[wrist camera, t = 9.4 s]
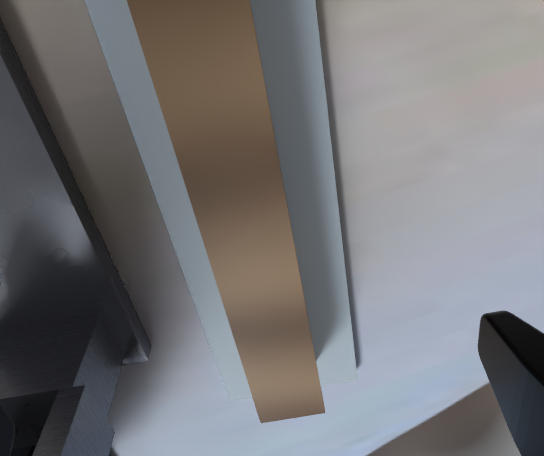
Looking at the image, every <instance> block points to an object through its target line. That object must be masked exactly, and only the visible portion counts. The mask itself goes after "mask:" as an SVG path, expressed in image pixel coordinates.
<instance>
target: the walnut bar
mask: <svg viewBox="0 0 544 456" xmlns="http://www.w3.org/2000/svg"><path fill="white" fill-rule="evenodd" d="M127 3H128V6H129V9H130V13H131V16H132V19H133V22H134V25H135V28H136V31H137V35H138V38H139V41H140V44H141V47H142V50H143V54H144V57H145V60H146V63H147V66H148V69H149V72H150V76H151V79H152V82H153V85H154V88H155V91H156V95H157V98H158V101H159V104H160V107H161V110H162V113H163V117H164V120H165V123H166V126H167V129H168V132H169V136H170V139H171V142H172V145H173V148H174V151H175V154H176V158H177V161H178V164H179V167H180V170H181V173H182V176H183V180H184V183H185V186H186V189H187V192H188V195H189V199H190V202H191V205H192V208H193V211H194V214H195V217H196V221H197V224H198V227H199V230H200V233H201V236H202V240H203V243H204V246H205V249H206V252H207V255H208V258H209V262H210V265H211V268H212V271H213V274H214V277H215V281H216V284H217V287H218V290H219V293H220V296H221V299H222V303H223V306H224V309H225V312H226V315H227V318H228V321H229V325H230V328H231V331H232V334H233V337H234V340H235V344H236V347H237V350H238V353H239V356H240V359H241V362H242V366H243V369H244V372H245V375H246V378H247V381H248V385H249V388H250V391H251V394H252V397H253V400H254V403H255V407H256V410H257V413H258V416H259V419H260V422H261V423H265V422H271V421H278V420H284V419H290V418H296V417H302V416H309V415H315V414H321V413H325V408H324V403H323V397H322V392H321V386H320V380H319V375H318V369H317V363H316V358H315V352H314V347H313V341H312V336H311V331H310V325H309V320H308V314H307V309H306V303H305V298H304V292H303V287H302V282H301V276H300V271H299V265H298V260H297V254H296V249H295V243H294V238H293V232H292V227H291V222H290V216H289V211H288V205H287V200H286V194H285V189H284V183H283V178H282V173H281V167H280V162H279V156H278V151H277V145H276V140H275V134H274V129H273V123H272V118H271V113H270V107H269V102H268V96H267V91H266V85H265V80H264V74H263V69H262V64H261V58H260V53H259V47H258V42H257V36H256V31H255V25H254V20H253V14H252V9H251V4H250V0H127Z"/></svg>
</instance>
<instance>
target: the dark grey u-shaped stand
mask: <svg viewBox="0 0 544 456" xmlns="http://www.w3.org/2000/svg"><path fill="white" fill-rule="evenodd" d="M150 349H151V344H150V341H149V339H148V337H147V335H146V333H145V331H144V328H143V326H142V324H141V322H140V320H139V318H138V316H137V313H136V311H135V309H134V307H133V305H132V303H131V300H130V298H129V296H128V294H127V292H126V290H125V287H124V285H123V283H122V281H121V279H120V277H119V274H118V272H117V270H116V268H115V266H114V264H113V261H112V259H111V257H110V255H109V253H108V251H107V249H106V246H105V244H104V242H103V240H102V238H101V236H100V233H99V231H98V229H97V227H96V225H95V223H94V220H93V218H92V216H91V214H90V212H89V210H88V207H87V205H86V203H85V201H84V199H83V197H82V194H81V192H80V190H79V188H78V186H77V184H76V181H75V179H74V177H73V175H72V173H71V171H70V169H69V166H68V164H67V162H66V160H65V158H64V156H63V153H62V151H61V149H60V147H59V145H58V143H57V140H56V138H55V136H54V134H53V132H52V130H51V127H50V125H49V123H48V121H47V119H46V117H45V114H44V112H43V110H42V108H41V106H40V104H39V102H38V99H37V97H36V95H35V93H34V91H33V89H32V86H31V84H30V82H29V80H28V78H27V76H26V73H25V71H24V69H23V67H22V65H21V63H20V60H19V58H18V56H17V54H16V52H15V50H14V47H13V45H12V43H11V41H10V39H9V37H8V34H7V32H6V30H5V28H4V26H3V24H2V22H1V19H0V405H1V406H2V407H3V408H4V410H5V411H6V412H7V413H8V415H9V416H10V417H11V418H12V420H13V422H14V424H15V436H14V440H13V445H12V449H14V448H20V447H27V446H33V445H37V446H36V448H35V450H34V453H33V455H32V456H109V453H110V449H111V445H112V441H113V437H114V433H115V432H114V430H113V429H112V427H111V426H110V424H109V422H108V421H107V417H108V414H109V410H110V406H111V403H112V399H113V396H114V392H115V389H116V385H117V381H118V378H119V374H120V371H121V367H122V365H126V364H132V363H138V362H144V361H148V358H149V353H150Z"/></svg>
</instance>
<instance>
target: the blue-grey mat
mask: <svg viewBox="0 0 544 456" xmlns="http://www.w3.org/2000/svg"><path fill="white" fill-rule="evenodd" d="M84 1H85V4H86V7H87V9H88V12H89V15H90V18H91V20H92V23H93V26H94V29H95V31H96V34H97V37H98V40H99V42H100V45H101V48H102V51H103V53H104V56H105V59H106V62H107V64H108V67H109V70H110V73H111V76H112V78H113V81H114V84H115V87H116V89H117V92H118V95H119V98H120V100H121V103H122V106H123V109H124V111H125V114H126V117H127V120H128V122H129V125H130V128H131V131H132V134H133V136H134V139H135V142H136V145H137V147H138V150H139V153H140V156H141V158H142V161H143V164H144V167H145V169H146V172H147V175H148V178H149V180H150V183H151V186H152V189H153V191H154V194H155V197H156V200H157V203H158V205H159V208H160V211H161V214H162V216H163V219H164V222H165V225H166V227H167V230H168V233H169V236H170V238H171V241H172V244H173V247H174V249H175V252H176V255H177V258H178V261H179V263H180V266H181V269H182V272H183V274H184V277H185V280H186V283H187V285H188V288H189V291H190V294H191V296H192V299H193V302H194V305H195V307H196V310H197V313H198V316H199V318H200V321H201V324H202V327H203V330H204V332H205V335H206V338H207V341H208V343H209V346H210V349H211V352H212V354H213V357H214V360H215V363H216V365H217V368H218V371H219V374H220V376H221V379H222V382H223V385H224V388H225V390H226V393H227V396H228V399H229V401H235V400H242V399H248V398H253V397H252V394H251V391H250V388H249V385H248V381H247V378H246V375H245V372H244V369H243V366H242V362H241V359H240V356H239V353H238V350H237V347H236V344H235V340H234V337H233V334H232V331H231V328H230V325H229V321H228V318H227V315H226V312H225V309H224V306H223V303H222V299H221V296H220V293H219V290H218V287H217V284H216V281H215V277H214V274H213V271H212V268H211V265H210V262H209V258H208V255H207V252H206V249H205V246H204V243H203V240H202V236H201V233H200V230H199V227H198V224H197V221H196V217H195V214H194V211H193V208H192V205H191V202H190V199H189V195H188V192H187V189H186V186H185V183H184V180H183V176H182V173H181V170H180V167H179V164H178V161H177V158H176V154H175V151H174V148H173V145H172V142H171V139H170V136H169V132H168V129H167V126H166V123H165V120H164V117H163V113H162V110H161V107H160V104H159V101H158V98H157V95H156V91H155V88H154V85H153V82H152V79H151V76H150V72H149V69H148V66H147V63H146V60H145V57H144V54H143V50H142V47H141V44H140V41H139V38H138V35H137V31H136V28H135V25H134V22H133V19H132V16H131V13H130V9H129V6H128V3H127V0H84ZM250 4H251V9H252V14H253V20H254V25H255V31H256V36H257V42H258V47H259V53H260V58H261V64H262V69H263V74H264V80H265V85H266V91H267V96H268V102H269V107H270V113H271V118H272V123H273V129H274V134H275V140H276V145H277V151H278V156H279V162H280V167H281V173H282V178H283V183H284V189H285V194H286V200H287V205H288V211H289V216H290V222H291V227H292V232H293V238H294V243H295V249H296V254H297V260H298V265H299V271H300V276H301V282H302V287H303V292H304V298H305V303H306V309H307V314H308V320H309V325H310V331H311V336H312V341H313V347H314V352H315V358H316V363H317V369H318V375H319V380H320V386H321V387H322V386H328V385H334V384H340V383H346V382H352V381H358V378H357V369H356V360H355V351H354V342H353V333H352V325H351V316H350V307H349V298H348V289H347V280H346V271H345V262H344V253H343V244H342V235H341V226H340V217H339V208H338V199H337V190H336V181H335V172H334V163H333V154H332V145H331V136H330V127H329V118H328V109H327V100H326V91H325V82H324V74H323V65H322V56H321V47H320V38H319V29H318V20H317V11H316V2H315V0H250Z"/></svg>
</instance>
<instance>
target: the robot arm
mask: <svg viewBox="0 0 544 456" xmlns="http://www.w3.org/2000/svg"><path fill="white" fill-rule="evenodd" d="M478 352H479V356H480V359H481V362H482V364H483V366H484V369H485V371H486V374H487V376H488V379H489V381H490V384H491V386H492V389H493V391H494V393H495V396H496V398H497V401H498V403H499V406H500V408H501V411H502V413H503V416H504V418H505V421H506V423H507V425H508V428H509V430H510V433H511V435H512V437H513V439H514V442H515V444H516V446H517V448H518V450H519V451H520V454H521V456H544V333H542V332H541V331H539V330H537V329H536V328H534V327H533V326H531V325H529V324H528V323H526V322H525V321H523V320H521V319H520V318H518V317H517V316H515V315H514V314H512V313H510V312H508V311H498V312H492V313H486V314H484V315H483V316H482V317H481V320H480V329H479V339H478ZM14 436H15V424H14V422H13V420H12V418H11V417H10V416H9V415H8V413H7V412H6V411H5V410H4V408H3V407H2V406H1V405H0V456H32V455H33V453H34V450H35V448H36V446H37V445H33V446H27V447H20V448H14V449H12V445H13V440H14Z"/></svg>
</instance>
